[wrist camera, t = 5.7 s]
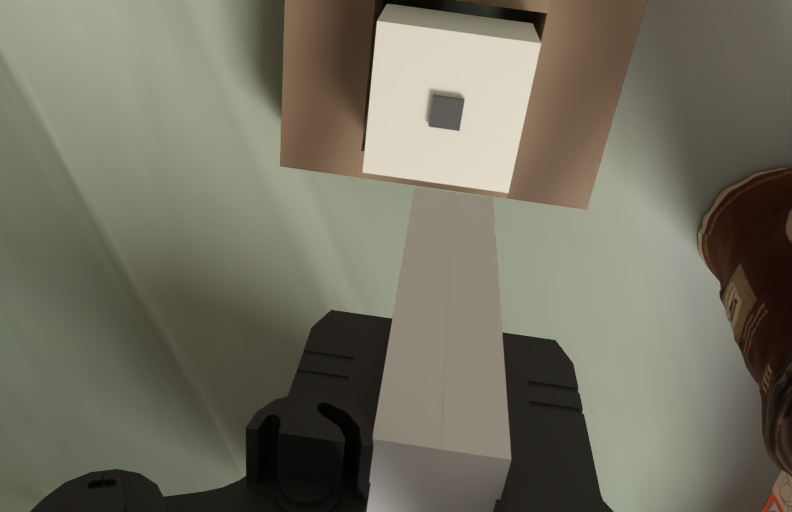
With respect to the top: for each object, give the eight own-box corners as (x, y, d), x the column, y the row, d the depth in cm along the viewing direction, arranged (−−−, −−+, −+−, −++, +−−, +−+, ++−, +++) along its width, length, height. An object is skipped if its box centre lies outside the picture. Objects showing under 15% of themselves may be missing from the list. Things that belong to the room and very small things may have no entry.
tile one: (373, 141, 25) (361, 174, 23) (386, 3, 23) (375, 22, 20) (504, 160, 25) (508, 195, 23) (532, 23, 23) (542, 45, 20)
